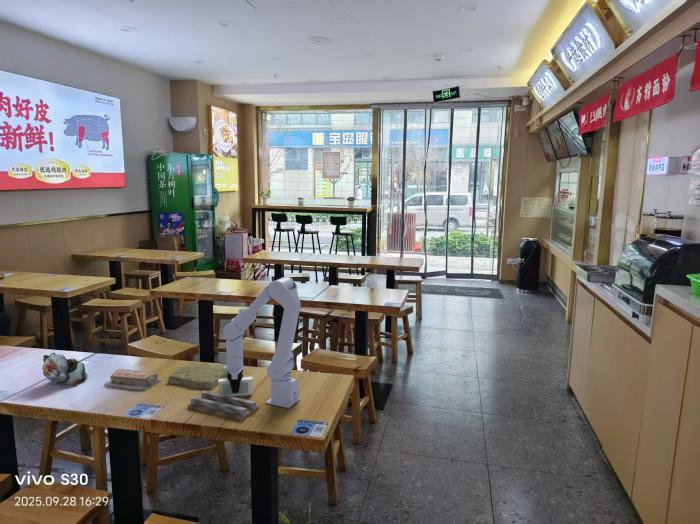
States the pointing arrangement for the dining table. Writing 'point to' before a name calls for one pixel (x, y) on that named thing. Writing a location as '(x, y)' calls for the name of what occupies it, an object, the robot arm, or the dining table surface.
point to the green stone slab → (198, 375)
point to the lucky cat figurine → (63, 370)
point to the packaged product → (133, 379)
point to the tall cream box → (244, 388)
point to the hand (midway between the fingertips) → (235, 390)
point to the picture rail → (223, 405)
